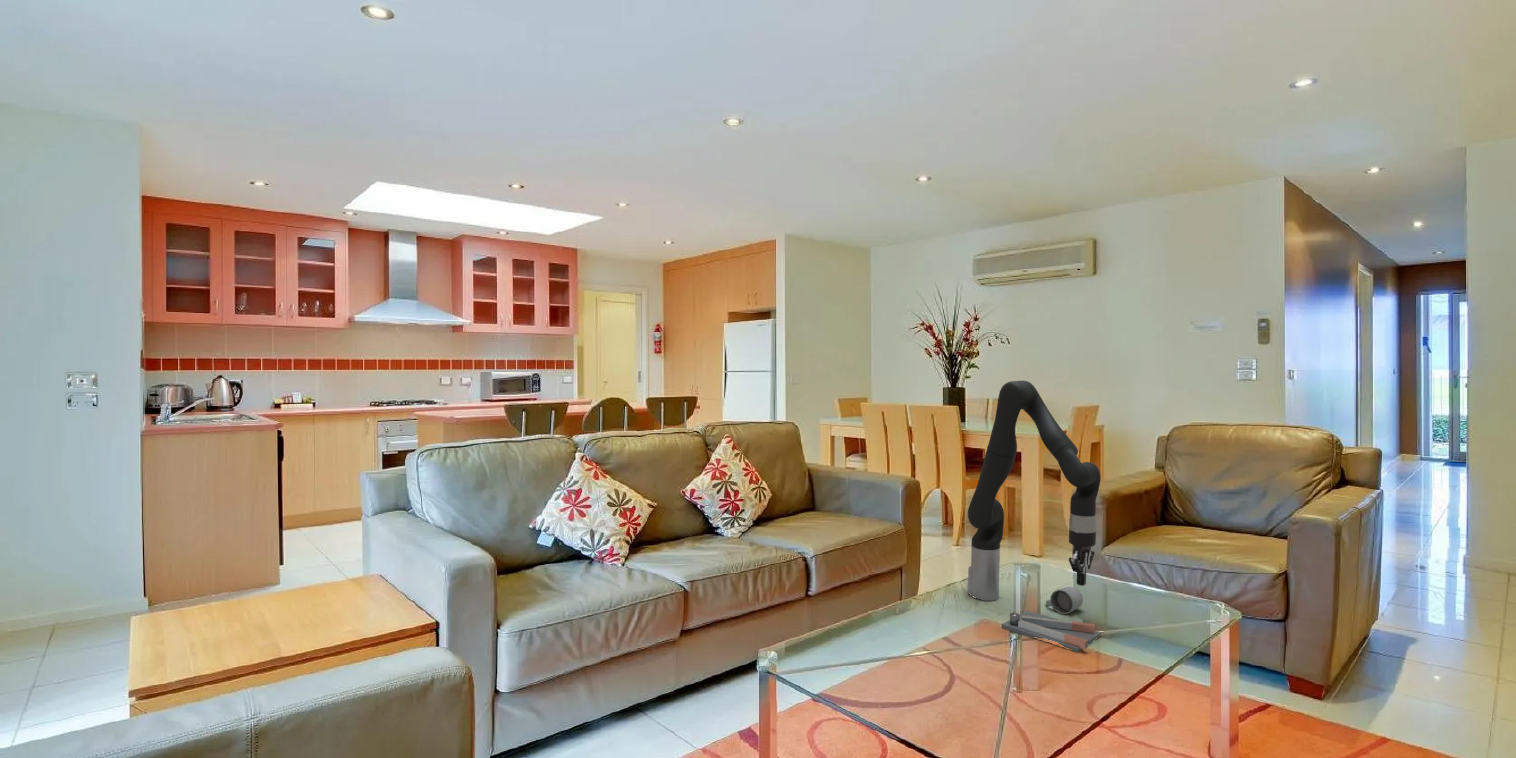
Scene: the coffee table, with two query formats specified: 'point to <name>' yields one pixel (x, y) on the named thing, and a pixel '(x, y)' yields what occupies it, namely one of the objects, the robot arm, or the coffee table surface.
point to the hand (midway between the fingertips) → (1081, 584)
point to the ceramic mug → (1065, 600)
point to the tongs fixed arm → (1048, 632)
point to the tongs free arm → (1060, 624)
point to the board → (1083, 635)
